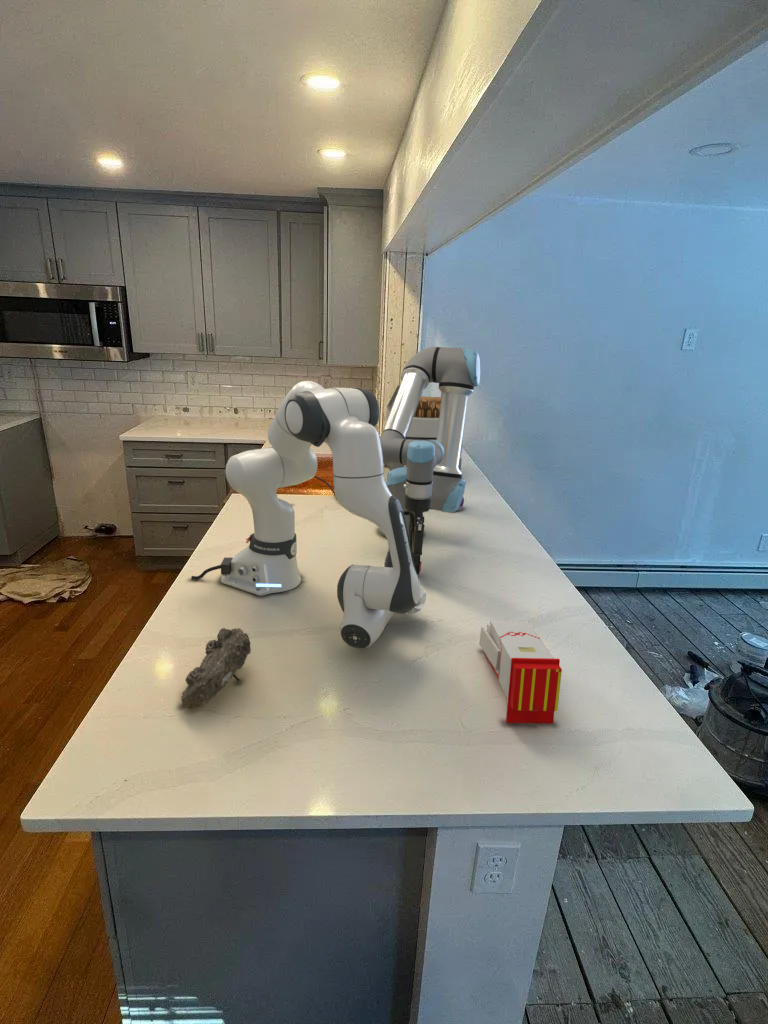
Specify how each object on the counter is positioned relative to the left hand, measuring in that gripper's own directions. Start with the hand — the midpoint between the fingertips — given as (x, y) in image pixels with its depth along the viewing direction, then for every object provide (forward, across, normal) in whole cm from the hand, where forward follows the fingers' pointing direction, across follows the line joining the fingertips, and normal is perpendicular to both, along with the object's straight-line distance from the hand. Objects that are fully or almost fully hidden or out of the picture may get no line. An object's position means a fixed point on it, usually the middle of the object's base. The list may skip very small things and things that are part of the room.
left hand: (394, 580), depth 151 cm
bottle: (-1, 0, +6) cm, 7 cm away
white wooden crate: (+128, +25, +7) cm, 130 cm away
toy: (-23, -34, +6) cm, 42 cm away
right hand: (+19, -1, +5) cm, 19 cm away
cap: (+19, -1, +3) cm, 19 cm away
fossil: (-45, +24, +6) cm, 52 cm away
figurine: (+83, 0, +7) cm, 84 cm away
